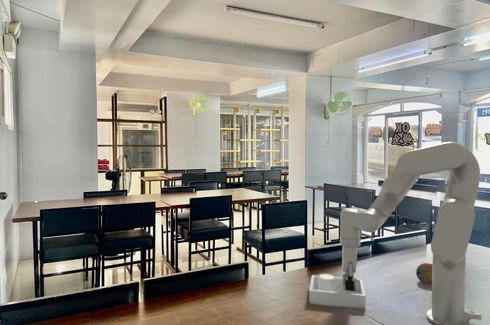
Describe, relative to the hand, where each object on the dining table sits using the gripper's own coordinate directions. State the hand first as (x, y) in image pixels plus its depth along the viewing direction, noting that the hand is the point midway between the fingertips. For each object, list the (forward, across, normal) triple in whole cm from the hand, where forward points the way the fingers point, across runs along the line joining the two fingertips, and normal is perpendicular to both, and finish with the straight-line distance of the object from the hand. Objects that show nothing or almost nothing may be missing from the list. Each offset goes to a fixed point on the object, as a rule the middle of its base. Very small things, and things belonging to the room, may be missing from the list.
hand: (349, 286), depth 134 cm
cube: (+1, 0, 0) cm, 1 cm away
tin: (+5, -23, +36) cm, 43 cm away
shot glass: (+4, 0, -8) cm, 9 cm away
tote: (+5, 0, -5) cm, 7 cm away
